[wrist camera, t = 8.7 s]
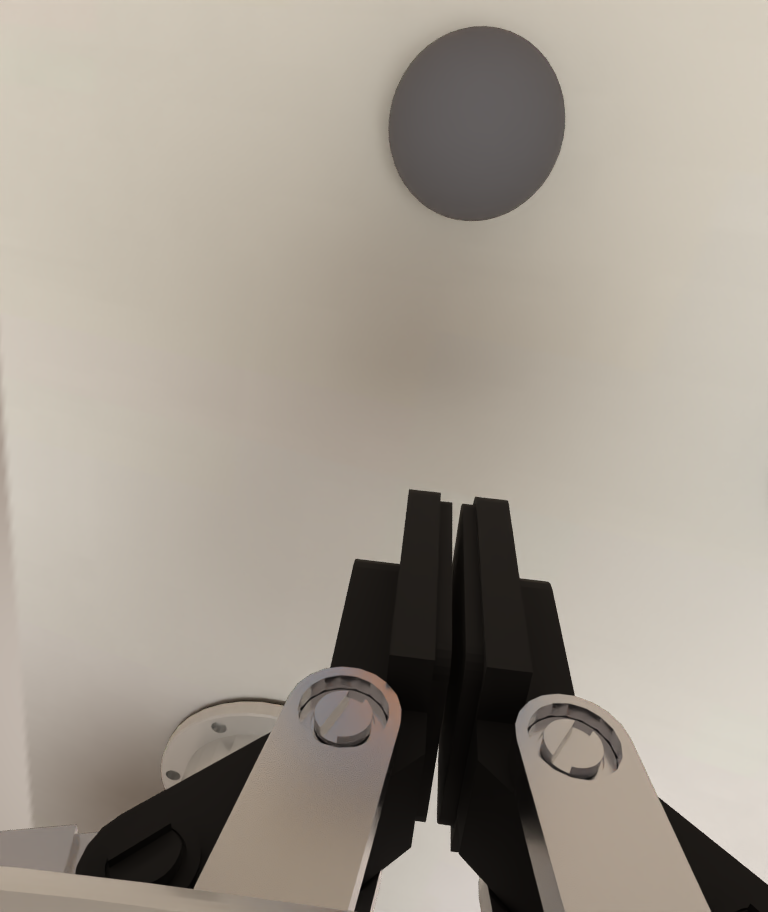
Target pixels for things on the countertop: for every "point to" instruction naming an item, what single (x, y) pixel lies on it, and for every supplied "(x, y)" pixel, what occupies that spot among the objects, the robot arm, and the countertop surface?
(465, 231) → the countertop surface
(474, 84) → the grey rubber ball
